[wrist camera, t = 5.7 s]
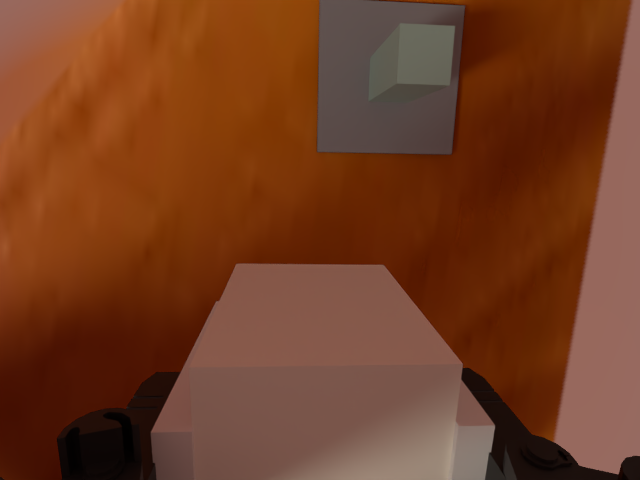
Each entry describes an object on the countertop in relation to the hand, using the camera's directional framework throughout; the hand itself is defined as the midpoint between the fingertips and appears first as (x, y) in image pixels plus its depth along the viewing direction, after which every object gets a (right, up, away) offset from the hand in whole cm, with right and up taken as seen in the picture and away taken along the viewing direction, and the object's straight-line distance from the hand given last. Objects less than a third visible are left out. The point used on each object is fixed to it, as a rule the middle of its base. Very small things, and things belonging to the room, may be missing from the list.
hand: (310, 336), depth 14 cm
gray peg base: (+5, +14, +11) cm, 18 cm away
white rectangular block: (0, 0, 0) cm, 0 cm away
